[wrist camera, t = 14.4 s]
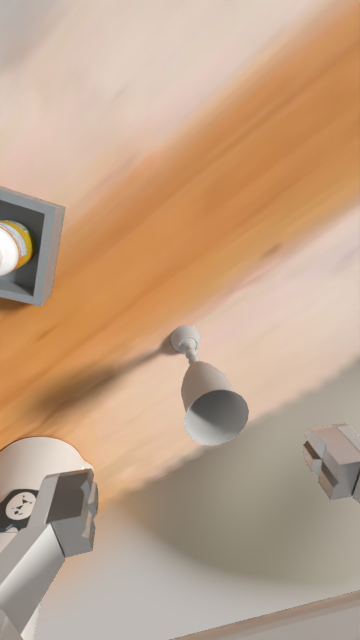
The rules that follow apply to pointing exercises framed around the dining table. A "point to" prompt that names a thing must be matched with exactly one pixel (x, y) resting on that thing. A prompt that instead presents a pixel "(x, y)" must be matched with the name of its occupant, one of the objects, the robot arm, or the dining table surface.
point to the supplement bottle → (15, 246)
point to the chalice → (207, 395)
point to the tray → (46, 225)
